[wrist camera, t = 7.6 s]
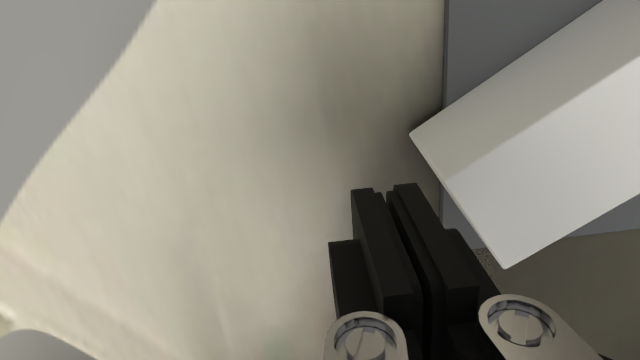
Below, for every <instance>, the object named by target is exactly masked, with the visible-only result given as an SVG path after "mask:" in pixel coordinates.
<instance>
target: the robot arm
mask: <svg viewBox="0 0 640 360" xmlns="http://www.w3.org/2000/svg"><path fill="white" fill-rule="evenodd" d="M351 208H352V224H353V240H345V241H336V242H328V247H329V258H330V268H331V278H332V286H333V294H334V302H335V309H336V316H337V321H335V322H334V323H333V324H332V326H331V327H330V329H329V330H328V332H327V335H326V339H325V347H324V358H323V360H612V359H610V358H607V357H605V356H603V355H600V354H598V353H596V352H595V351H594V350H593V349H592V348H591V347H590V346H589V345H588V344H587V343H586V342H585V341H584V340H583V339H582V338H581V337H580V336H579V335H578V334H577V333H576V332H575V331H574V330H573V329H572V328H571V327H570V326H569V325H568V324H567V323H566V322H565V321H564V320H563V319H562V318H561V317H560V316H559V315H558V314H557V313H555V312H554V311H553V310H552V309H550V308H549V307H548V306H546V305H545V304H543V303H541V302H539V301H537V300H535V299H532V298H528V297H525V296H521V295H512V294H506V295H501V294H500V292H499V291H498V289H497V288H496V286H495V285H494V283H493V282H492V280H491V279H490V277H489V276H488V274H487V273H486V271H485V270H484V268H483V267H482V265H481V264H480V262H479V261H478V259H477V258H476V256H475V255H474V253H473V252H472V250H471V248H470V247H469V245H468V244H467V242H466V241H465V239H464V238H463V236H462V235H461V233H460V232H459V231H458V230H457V229H455V228H451V229H445V228H444V227H443V225H442V224H441V222H440V220H439V219H438V217H437V215H436V214H435V212H434V211H433V209H432V207H431V206H430V204H429V202H428V201H427V199H426V198H425V196H424V194H423V193H422V191H421V189H420V188H419V186H418V185H417V183H408V184H399V185H394V187H393V191H387V192H386V202H385V200H384V198H383V195H382V193H381V192H377V193H374V190H373V188H363V189H354V190H351Z"/></svg>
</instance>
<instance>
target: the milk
mask: <svg viewBox="0 0 640 360" xmlns="http://www.w3.org/2000/svg"><path fill="white" fill-rule="evenodd" d="M409 136H410V138H411V139H412V141H413V142H414V144H415V145H416V147H417V148H418V150H419V151H420V152H421V154H422V155H423V157H424V158H425V160H426V161H427V163H428V164H429V166H430V167H431V169H432V170H433V171H434V173H435V174H436V176H437V177H438V179H439V180H440V182H441V183H442V185H443V186H444V188H445V189H446V190H447V192H448V193H449V195H450V196H451V198H452V199H453V201H454V202H455V204H456V205H457V207H458V208H459V209H460V211H461V212H462V213H463V215H464V216H465V218H466V219H467V220H468V222H469V223H470V224H471V226H472V227H473V229H474V230H475V231H476V233H477V234H478V235H479V237H480V238H481V240H482V241H483V242H484V244H485V245H486V246H487V248H488V249H489V251H490V252H491V253H492V255H493V256H494V257H495V259H496V260H497V262H498V263H499V264H500V266H501V267H502V268H503V269H507V268H509V267H511V266H513V265H515V264H516V263H518V262H520V261H522V260H523V259H525V258H527V257H529V256H530V255H532V254H534V253H536V252H538V251H539V250H541V249H543V248H545V247H546V246H548V245H550V244H552V243H553V242H555V241H557V240H559V239H560V238H562V237H564V236H566V235H567V234H569V233H571V232H573V231H574V230H576V229H578V228H580V227H582V226H583V225H585V224H587V223H589V222H590V221H592V220H594V219H596V218H597V217H599V216H601V215H603V214H604V213H606V212H608V211H610V210H611V209H613V208H615V207H617V206H618V205H620V204H622V203H624V202H626V201H627V200H629V199H631V198H633V197H634V196H636V195H638V194H640V0H603V1H601V2H600V3H598V4H597V5H595V6H594V7H592V8H591V9H590V10H588V11H587V12H585V13H584V14H582V15H581V16H579V17H578V18H576V19H575V20H573V21H572V22H571V23H569V24H568V25H566V26H565V27H563V28H562V29H560V30H559V31H557V32H556V33H554V34H553V35H552V36H550V37H549V38H547V39H546V40H544V41H543V42H541V43H540V44H538V45H537V46H535V47H534V48H533V49H531V50H530V51H528V52H527V53H525V54H524V55H522V56H521V57H519V58H518V59H517V60H515V61H514V62H512V63H511V64H509V65H508V66H506V67H505V68H503V69H502V70H500V71H499V72H498V73H496V74H495V75H493V76H492V77H490V78H489V79H487V80H486V81H484V82H483V83H481V84H480V85H479V86H477V87H476V88H474V89H473V90H471V91H470V92H468V93H467V94H465V95H464V96H462V97H461V98H460V99H458V100H457V101H455V102H454V103H452V104H451V105H449V106H448V107H446V108H445V109H444V110H442V111H441V112H439V113H438V114H436V115H435V116H433V117H432V118H430V119H429V120H427V121H426V122H425V123H423V124H422V125H420V126H419V127H417V128H416V129H414V130H413V131H411V132H410V133H409Z"/></svg>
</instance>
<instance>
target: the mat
mask: <svg viewBox="0 0 640 360" xmlns="http://www.w3.org/2000/svg"><path fill="white" fill-rule="evenodd" d="M601 1H603V0H445V33H444V70H443V108H442V110H444V109H445V108H446V107H448V106H449V105H451V104H452V103H454V102H455V101H457V100H458V99H460V98H461V97H462V96H464V95H465V94H467V93H468V92H470V91H471V90H473V89H474V88H476V87H477V86H479V85H480V84H481V83H483V82H484V81H486V80H487V79H489V78H490V77H492V76H493V75H495V74H496V73H498V72H499V71H500V70H502V69H503V68H505V67H506V66H508V65H509V64H511V63H512V62H514V61H515V60H517V59H518V58H519V57H521V56H522V55H524V54H525V53H527V52H528V51H530V50H531V49H533V48H534V47H535V46H537V45H538V44H540V43H541V42H543V41H544V40H546V39H547V38H549V37H550V36H552V35H553V34H554V33H556V32H557V31H559V30H560V29H562V28H563V27H565V26H566V25H568V24H569V23H571V22H572V21H573V20H575V19H576V18H578V17H579V16H581V15H582V14H584V13H585V12H587V11H588V10H590V9H591V8H592V7H594V6H595V5H597V4H598V3H600V2H601ZM440 222H441V224H442V225H443V227H444V228H445V229H451V228H455V229H457V230H458V231H459V232H460V233H461V235H462V236H463V238H464V239H465V241H466V242H467V244H468V245H469V247H470V248H471V249H479V248H487V246H486V245H485V244H484V242H483V241H482V240H481V238H480V237H479V235H478V234H477V233H476V231H475V230H474V229H473V227H472V226H471V224H470V223H469V222H468V220H467V219H466V218H465V216H464V215H463V213H462V212H461V211H460V209H459V208H458V207H457V205H456V204H455V202H454V201H453V199H452V198H451V196H450V195H449V193H448V192H447V190H446V189H445V188H444V186H443V185H442V183H440ZM639 228H640V194H638V195H636V196H634V197H633V198H631V199H629V200H627V201H626V202H624V203H622V204H620V205H618V206H617V207H615V208H613V209H611V210H610V211H608V212H606V213H604V214H603V215H601V216H599V217H597V218H596V219H594V220H592V221H590V222H589V223H587V224H585V225H583V226H582V227H580V228H578V229H576V230H574V231H573V232H571V233H569V234H567V235H566V236H564V237H562V238H567V237H575V236H583V235H591V234H599V233H607V232H615V231H623V230H631V229H639Z"/></svg>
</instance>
